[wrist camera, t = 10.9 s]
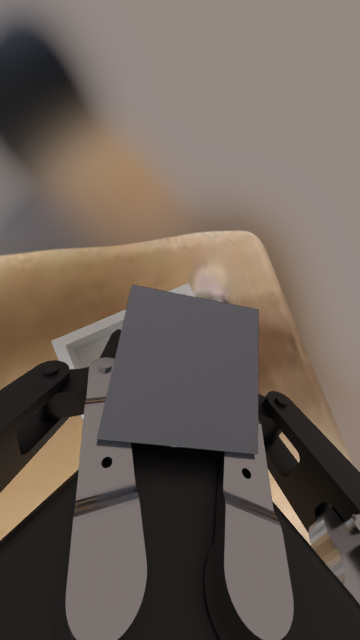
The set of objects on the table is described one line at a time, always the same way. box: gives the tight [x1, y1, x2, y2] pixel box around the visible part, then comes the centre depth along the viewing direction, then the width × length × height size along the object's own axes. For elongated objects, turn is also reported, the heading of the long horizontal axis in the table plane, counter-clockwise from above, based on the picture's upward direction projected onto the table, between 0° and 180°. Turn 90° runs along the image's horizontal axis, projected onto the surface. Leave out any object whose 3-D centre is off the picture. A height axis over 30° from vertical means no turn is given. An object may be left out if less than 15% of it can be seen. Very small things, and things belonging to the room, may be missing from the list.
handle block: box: [97, 285, 259, 454], centre depth 12 cm, size 4×4×12 cm
